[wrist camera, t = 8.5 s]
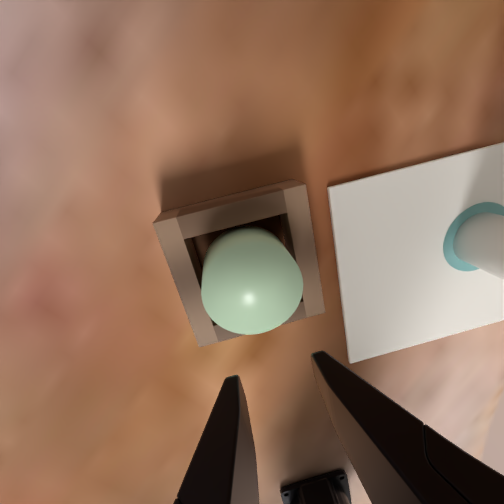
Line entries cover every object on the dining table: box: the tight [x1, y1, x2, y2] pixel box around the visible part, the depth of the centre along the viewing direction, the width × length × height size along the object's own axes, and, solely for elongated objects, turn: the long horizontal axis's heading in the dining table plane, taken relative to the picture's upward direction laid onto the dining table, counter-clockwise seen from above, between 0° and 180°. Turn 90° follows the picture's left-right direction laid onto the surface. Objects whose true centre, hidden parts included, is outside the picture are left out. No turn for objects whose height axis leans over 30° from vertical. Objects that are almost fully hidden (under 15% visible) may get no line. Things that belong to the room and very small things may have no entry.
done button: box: [201, 226, 303, 334], centre depth 15 cm, size 5×5×3 cm
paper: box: [327, 142, 504, 364], centre depth 20 cm, size 14×16×1 cm
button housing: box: [153, 179, 325, 347], centre depth 17 cm, size 8×8×2 cm
